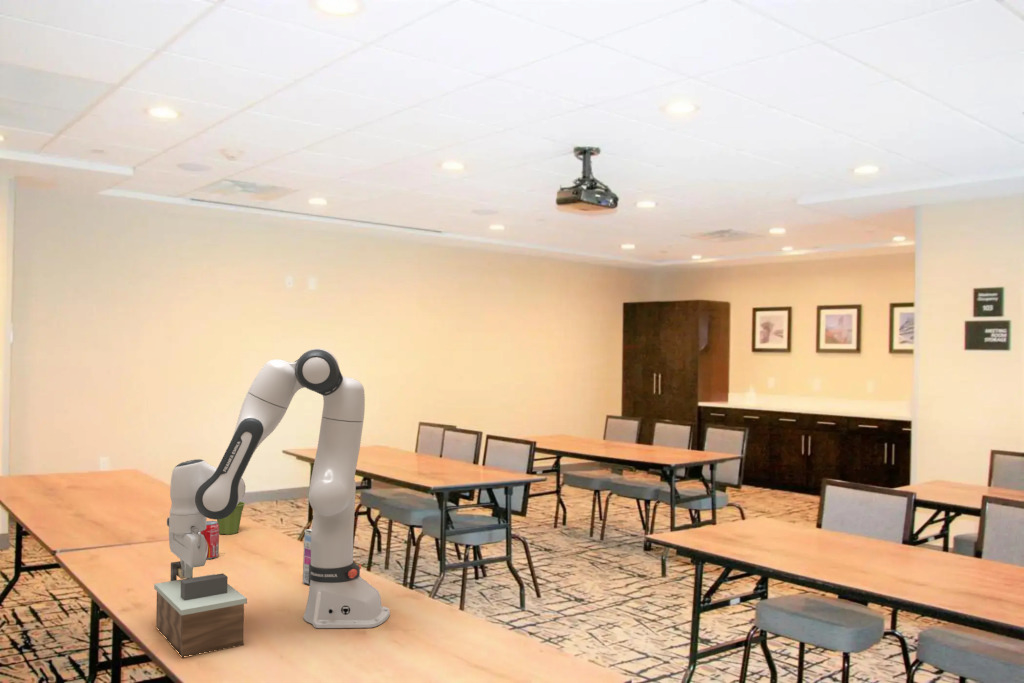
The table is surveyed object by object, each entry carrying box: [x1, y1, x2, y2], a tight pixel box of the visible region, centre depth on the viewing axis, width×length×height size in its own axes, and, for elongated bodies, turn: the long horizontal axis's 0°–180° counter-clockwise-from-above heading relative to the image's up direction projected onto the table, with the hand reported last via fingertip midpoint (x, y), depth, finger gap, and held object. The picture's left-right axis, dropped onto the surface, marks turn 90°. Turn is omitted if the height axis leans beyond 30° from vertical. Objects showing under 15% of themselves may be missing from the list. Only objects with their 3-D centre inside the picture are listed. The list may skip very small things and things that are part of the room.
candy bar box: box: [302, 528, 312, 587], centre depth 239 cm, size 11×5×16 cm, turn 141°
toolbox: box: [155, 561, 245, 657], centre depth 195 cm, size 29×14×15 cm, turn 38°
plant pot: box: [216, 501, 246, 536], centre depth 302 cm, size 12×12×11 cm
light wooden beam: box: [177, 567, 186, 580], centre depth 205 cm, size 8×2×2 cm, turn 38°
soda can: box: [201, 520, 220, 560], centre depth 265 cm, size 6×6×12 cm
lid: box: [153, 573, 248, 615], centre depth 193 cm, size 25×15×6 cm, turn 38°
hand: (187, 576), depth 201 cm, fingers closed
